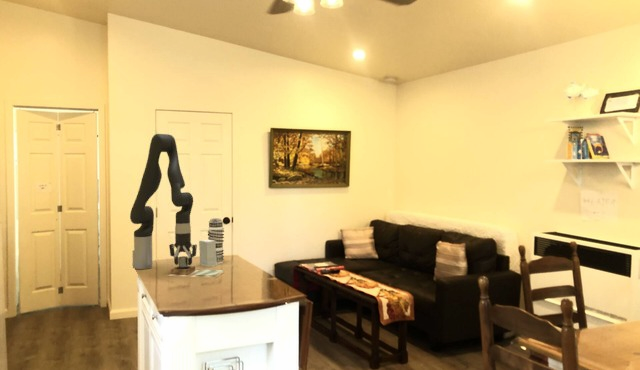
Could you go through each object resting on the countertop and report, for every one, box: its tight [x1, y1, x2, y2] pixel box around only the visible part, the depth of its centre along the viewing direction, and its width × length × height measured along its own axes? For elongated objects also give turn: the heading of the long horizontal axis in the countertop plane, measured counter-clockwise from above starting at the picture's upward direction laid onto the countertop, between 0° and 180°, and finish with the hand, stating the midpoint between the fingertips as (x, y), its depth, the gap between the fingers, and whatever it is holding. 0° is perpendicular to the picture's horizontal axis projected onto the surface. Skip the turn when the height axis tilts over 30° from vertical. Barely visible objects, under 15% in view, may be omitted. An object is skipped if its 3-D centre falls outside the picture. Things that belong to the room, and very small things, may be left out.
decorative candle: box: [207, 218, 225, 265], centre depth 272 cm, size 9×9×25 cm
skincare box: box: [198, 238, 218, 268], centre depth 259 cm, size 8×6×15 cm
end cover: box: [178, 255, 189, 269], centre depth 242 cm, size 4×4×8 cm
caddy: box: [165, 265, 224, 280], centre depth 241 cm, size 25×14×4 cm, turn 83°
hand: (183, 264), depth 242 cm, fingers open, 6 cm apart
